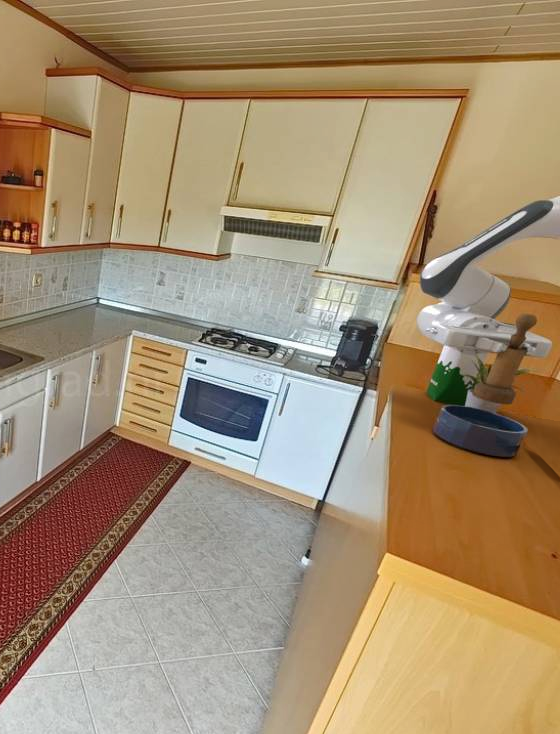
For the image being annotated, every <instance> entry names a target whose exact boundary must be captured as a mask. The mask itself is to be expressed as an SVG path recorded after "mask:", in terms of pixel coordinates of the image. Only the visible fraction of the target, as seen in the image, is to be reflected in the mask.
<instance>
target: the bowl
mask: <svg viewBox="0 0 560 734" xmlns="http://www.w3.org/2000/svg"><path fill="white" fill-rule="evenodd" d="M432 431H433V433H434V435H437V436H438V437H439V438H441V439H443V440H444V441H445V442H447V443H449V444H452V445H453V446H456V447H458V448H461V449H464V450H467V451H470V452H473V453H477V454H481V455H484V456H485V455H486V456H491V457H501V458H502V457H503V458H504V457H506V458H511V457H515V456H516V455H518V452H519V450H520V448H521V446H522V444H523V441H524V439H525V438H526V435H527V433H528V431H529V429H528V427H526V425H523V423H520V422H518V421H516V420H514V419H512V418H510V417H507V416H504V415H501V414H498V413H497V412H496V413H492V412H489V411H485V410H481V409H477V408H472V407H467V406H461V405H452V404H444V405H442V406H441V408H440V410H439V413H438V415H437V418H436V420H435V422H434V425H433V427H432Z"/></svg>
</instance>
